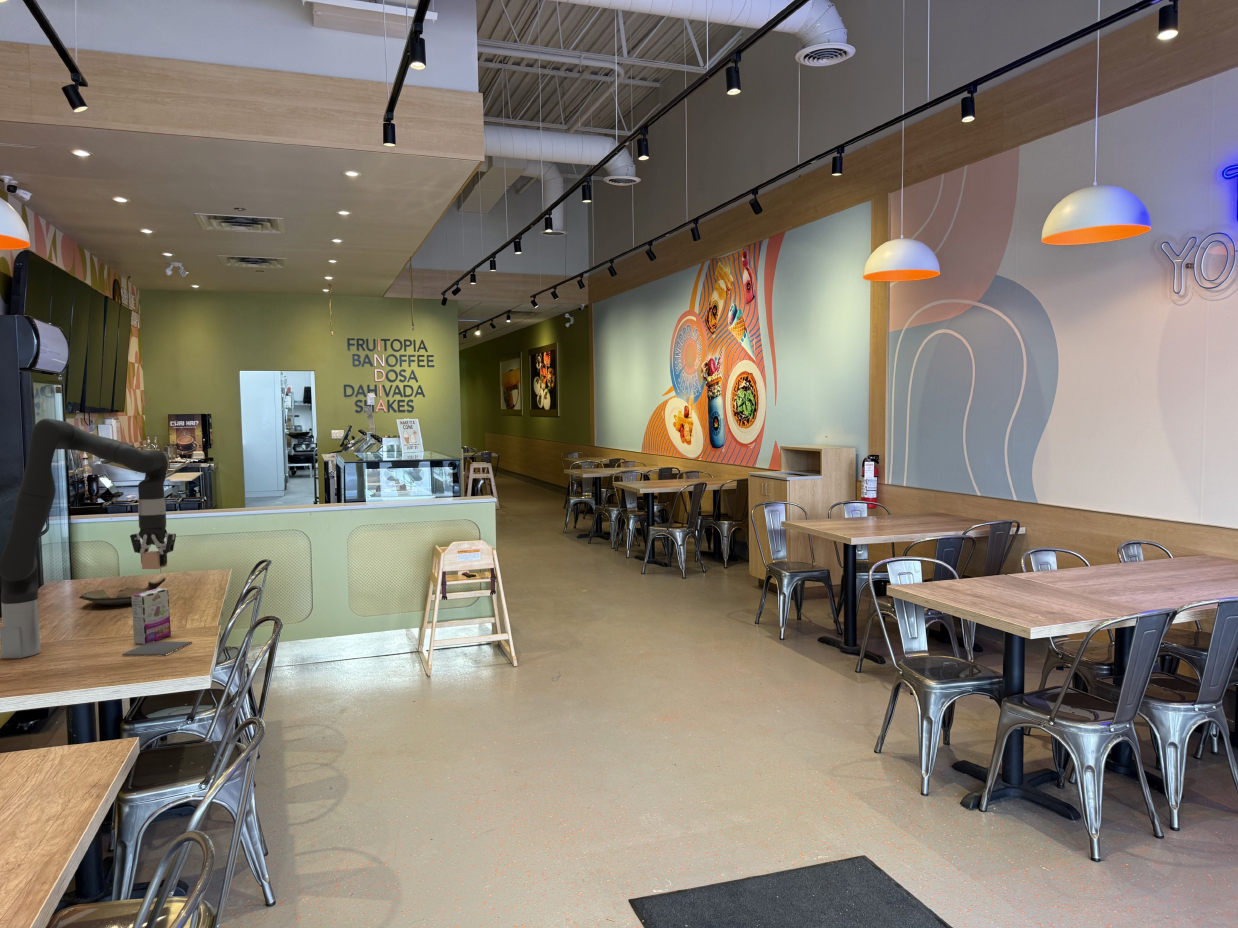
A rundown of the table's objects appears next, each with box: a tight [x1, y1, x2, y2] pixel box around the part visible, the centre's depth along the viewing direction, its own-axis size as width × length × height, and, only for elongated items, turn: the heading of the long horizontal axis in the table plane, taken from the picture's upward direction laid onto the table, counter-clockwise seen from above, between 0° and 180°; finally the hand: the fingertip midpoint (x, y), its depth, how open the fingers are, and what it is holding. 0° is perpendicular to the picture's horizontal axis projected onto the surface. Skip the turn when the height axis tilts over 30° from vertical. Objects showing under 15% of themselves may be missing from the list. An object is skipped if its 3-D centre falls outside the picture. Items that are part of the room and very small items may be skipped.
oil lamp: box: [78, 577, 167, 606], centre depth 319 cm, size 22×30×8 cm
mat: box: [121, 641, 193, 656], centre depth 253 cm, size 14×14×1 cm
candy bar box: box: [131, 587, 172, 645], centre depth 264 cm, size 11×5×16 cm, turn 168°
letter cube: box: [140, 550, 168, 570], centre depth 251 cm, size 5×5×5 cm
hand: (154, 565), depth 251 cm, fingers closed on letter cube, 5 cm apart
